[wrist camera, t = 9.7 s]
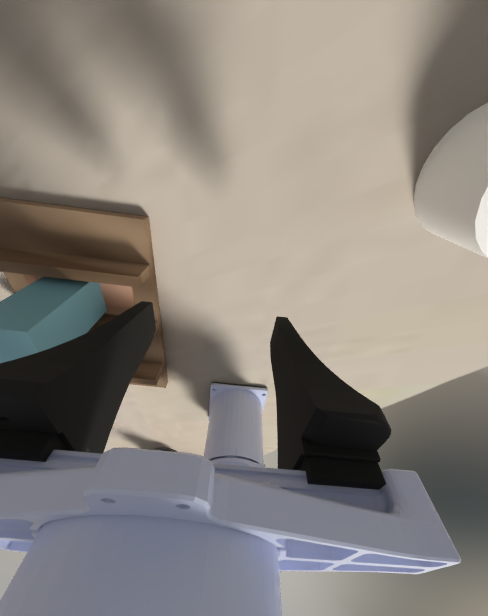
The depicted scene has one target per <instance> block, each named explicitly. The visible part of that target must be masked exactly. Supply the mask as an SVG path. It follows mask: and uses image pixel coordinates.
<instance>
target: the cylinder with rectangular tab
mask: <svg viewBox="0 0 488 616" xmlns="http://www.w3.org/2000/svg"><path fill="white" fill-rule="evenodd" d="M413 202H414V208H415V215H416V217H417V218H418V220H419V222H420V224H421V225H422V226H423V227H424V228H425V229H427V230H428V231H429V232H431V233H433V234H435V235H437V236H439V237H441V238H444V239H446V240H448V241H450V242H452V243H455V244H457V245H459V246H461V247H464V248H466V249H468V250H470V251H472V252H475V253H477V254H479V255H481V256H484V257H486V258H488V103H486V104H484V105H482V106H481V107H479V108H477V109H475V110H474V111H472V112H470V113H469V114H467V115H466V116H465V117H464V118H463V119H462V120H460V121H459V122H458V123H457V124H456V125H454V126H453V127H452V128H451V129H450V130H449V131H448V132H447V133H446V134H445V135H444V137H443V138H442V139H441V140H440V141H439V142H438V144H437V145H436V146H435V147H434V148H433V150H432V152H431V153H430V155H429V157H428V158H427V160H426V162H425V163H424V165H423V167H422V169H421V172H420V175H419V177H418V180H417V183H416V185H415V193H414V201H413Z"/></svg>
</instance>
